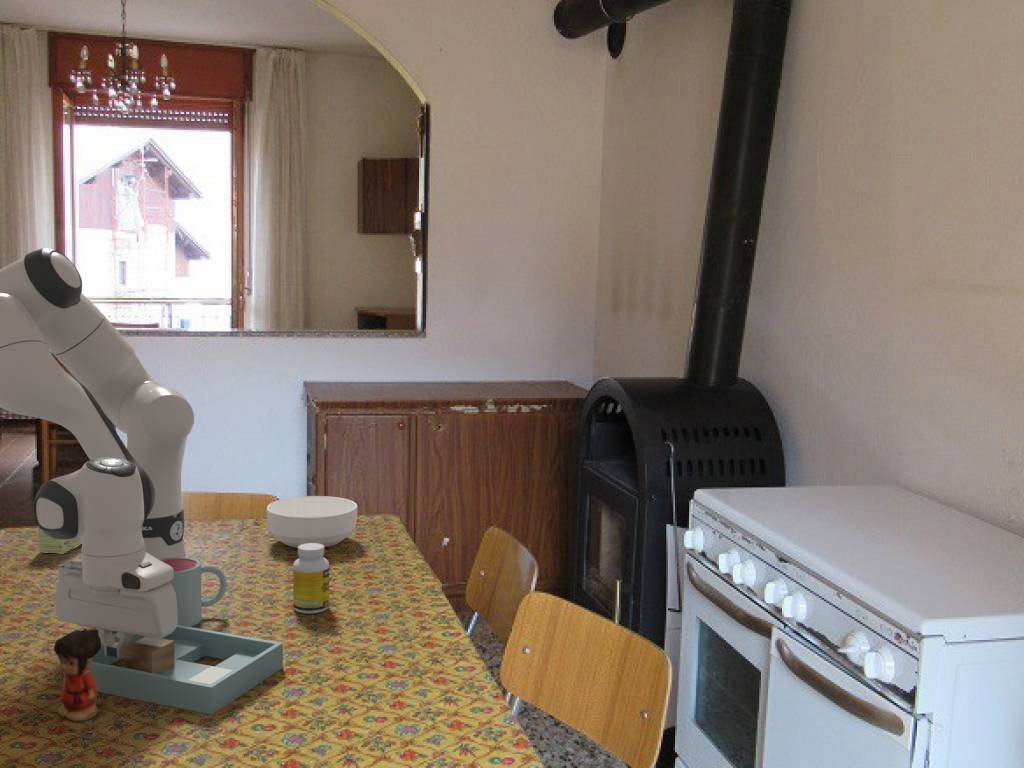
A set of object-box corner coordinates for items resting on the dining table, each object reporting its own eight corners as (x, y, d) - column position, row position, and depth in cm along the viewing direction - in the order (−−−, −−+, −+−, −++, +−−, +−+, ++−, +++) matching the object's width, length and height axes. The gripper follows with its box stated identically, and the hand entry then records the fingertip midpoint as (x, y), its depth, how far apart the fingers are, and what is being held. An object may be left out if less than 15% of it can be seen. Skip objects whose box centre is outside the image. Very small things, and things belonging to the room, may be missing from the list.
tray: (64, 684, 153) (63, 658, 153) (146, 642, 170) (145, 619, 170) (211, 714, 145) (211, 687, 144) (283, 667, 161) (282, 643, 161)
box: (65, 540, 228) (63, 487, 226) (89, 542, 227) (87, 489, 226) (37, 553, 218) (35, 498, 216) (62, 555, 217) (60, 500, 215)
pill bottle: (321, 616, 184) (321, 553, 183) (287, 613, 186) (286, 550, 184) (334, 604, 191) (334, 543, 189) (301, 601, 192) (301, 540, 190)
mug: (150, 633, 174) (149, 575, 173) (142, 615, 183) (141, 560, 181) (233, 621, 181) (232, 566, 180) (221, 605, 189) (221, 551, 188)
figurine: (65, 703, 147) (62, 622, 146) (105, 703, 148) (103, 622, 146) (49, 723, 141) (46, 639, 139) (91, 723, 141) (89, 638, 140)
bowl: (349, 557, 220) (349, 518, 219) (256, 554, 220) (256, 516, 219) (363, 532, 240) (363, 496, 239) (278, 530, 240) (278, 494, 239)
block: (124, 673, 153) (123, 647, 153) (147, 661, 158) (146, 635, 157) (152, 678, 151) (151, 652, 151) (174, 666, 156) (174, 640, 156)
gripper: (43, 564, 155) (46, 653, 157) (155, 582, 148) (156, 674, 150) (74, 553, 161) (76, 639, 163) (183, 570, 154) (184, 659, 156)
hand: (116, 656), depth 156 cm, fingers closed
